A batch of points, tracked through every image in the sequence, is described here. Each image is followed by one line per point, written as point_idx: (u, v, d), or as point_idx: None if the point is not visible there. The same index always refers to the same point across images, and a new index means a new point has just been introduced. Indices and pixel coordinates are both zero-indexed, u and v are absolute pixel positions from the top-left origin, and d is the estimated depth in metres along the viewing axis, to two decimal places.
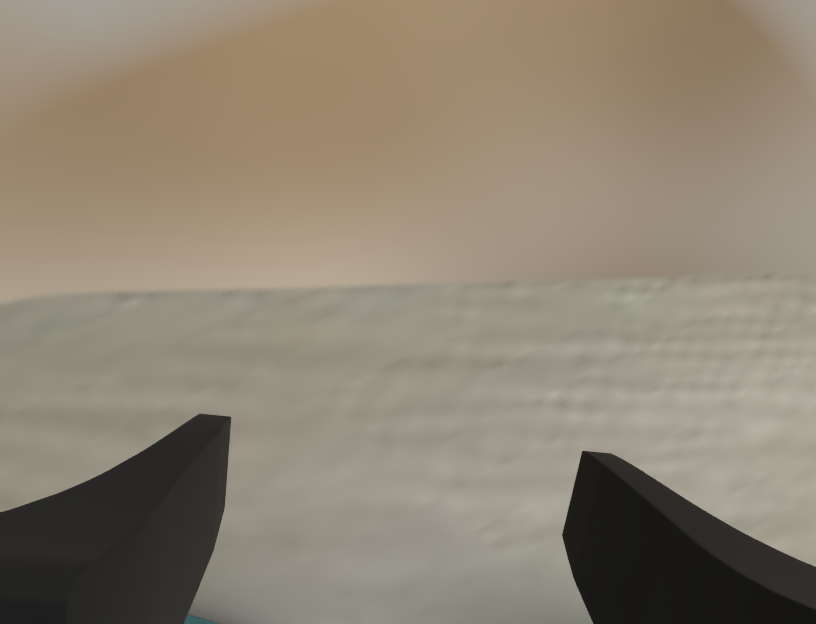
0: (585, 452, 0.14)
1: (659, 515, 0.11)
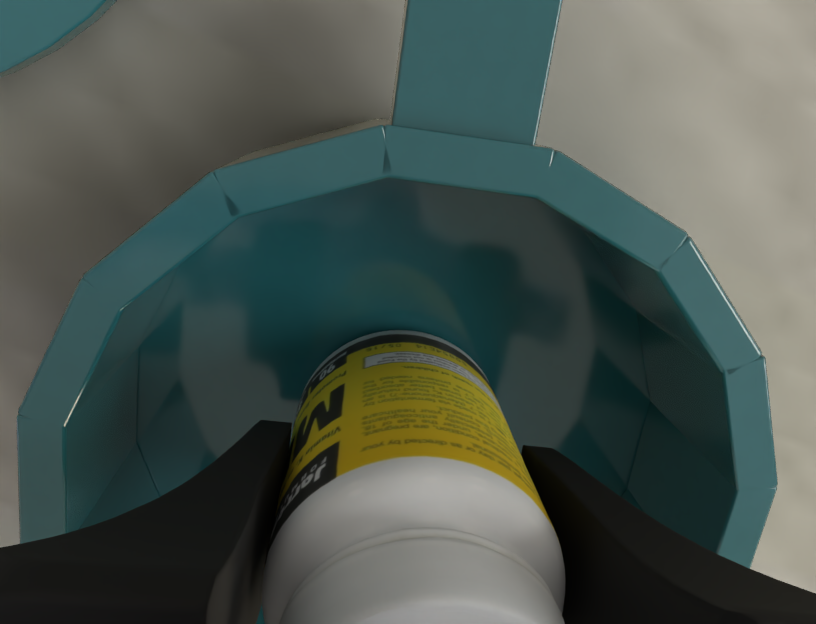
0: (525, 446, 0.13)
1: (584, 508, 0.11)
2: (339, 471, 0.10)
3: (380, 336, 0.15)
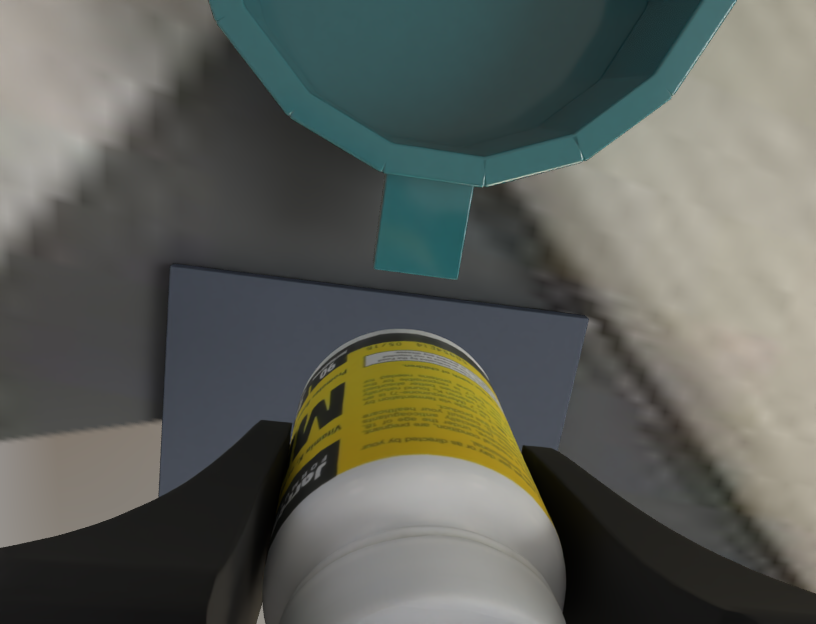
0: (525, 446, 0.13)
1: (584, 508, 0.11)
2: (339, 470, 0.10)
3: (380, 335, 0.15)
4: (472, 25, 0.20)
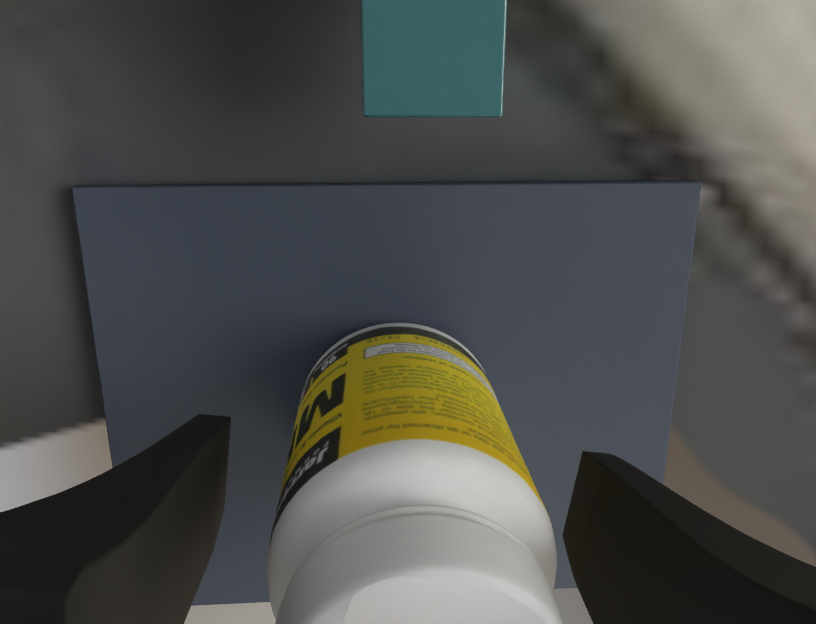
0: (585, 452, 0.14)
1: (659, 515, 0.11)
2: (340, 453, 0.10)
3: (380, 328, 0.15)
4: None
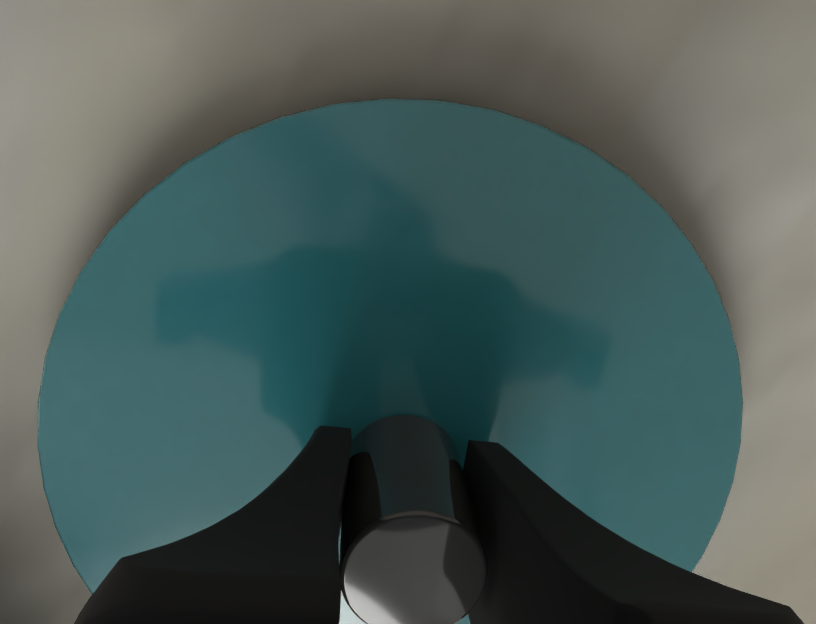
0: (470, 441, 0.13)
1: (514, 502, 0.10)
2: None
3: None
4: None
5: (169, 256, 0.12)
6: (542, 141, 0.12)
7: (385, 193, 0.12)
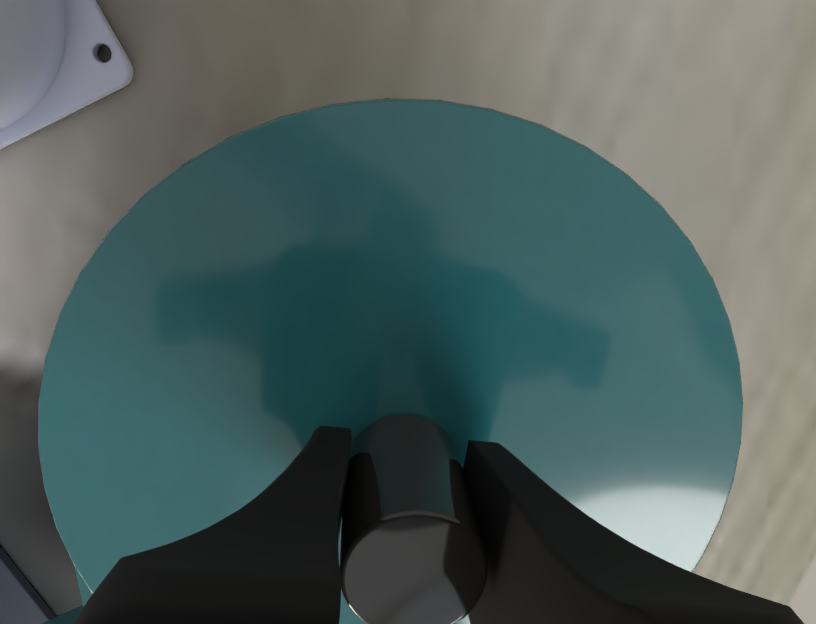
0: (470, 441, 0.13)
1: (515, 502, 0.10)
2: None
3: None
4: None
5: (169, 256, 0.12)
6: (542, 141, 0.12)
7: (384, 193, 0.12)
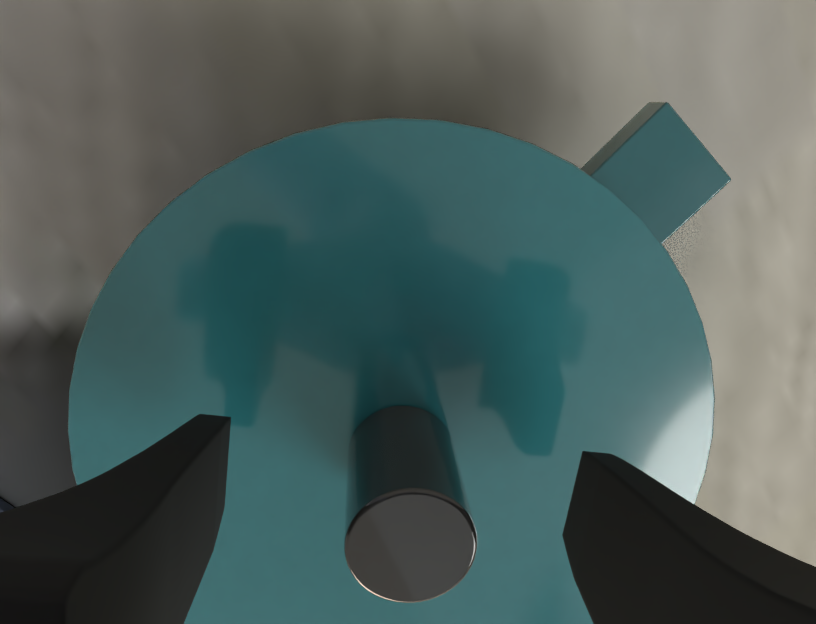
0: (585, 452, 0.14)
1: (659, 515, 0.11)
2: None
3: None
4: None
5: (192, 258, 0.14)
6: (532, 158, 0.14)
7: (389, 203, 0.14)
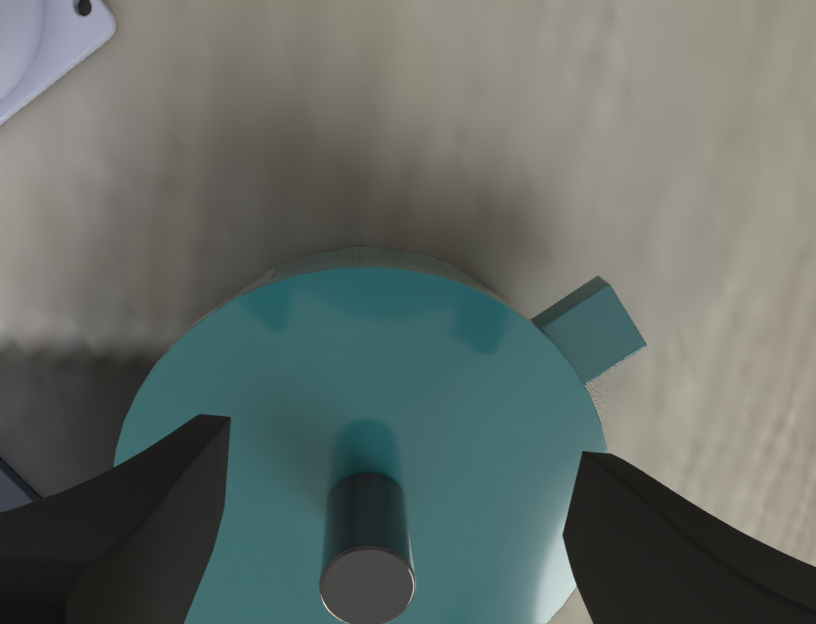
0: (585, 452, 0.14)
1: (659, 515, 0.11)
2: None
3: None
4: None
5: (239, 341, 0.18)
6: (503, 313, 0.18)
7: (393, 327, 0.18)
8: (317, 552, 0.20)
